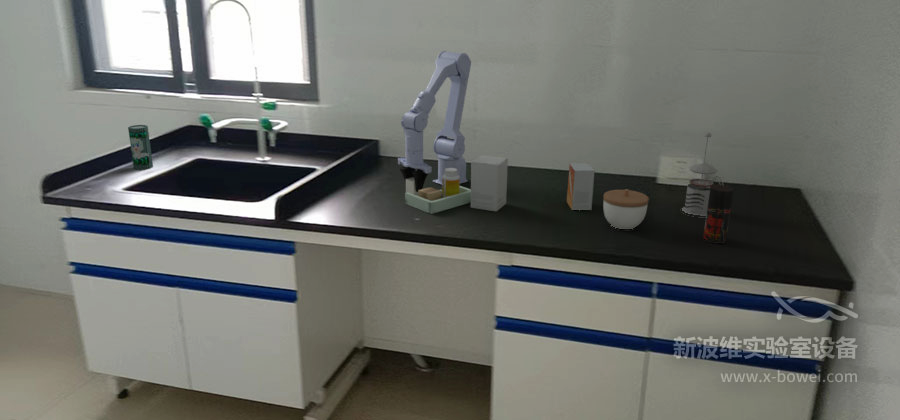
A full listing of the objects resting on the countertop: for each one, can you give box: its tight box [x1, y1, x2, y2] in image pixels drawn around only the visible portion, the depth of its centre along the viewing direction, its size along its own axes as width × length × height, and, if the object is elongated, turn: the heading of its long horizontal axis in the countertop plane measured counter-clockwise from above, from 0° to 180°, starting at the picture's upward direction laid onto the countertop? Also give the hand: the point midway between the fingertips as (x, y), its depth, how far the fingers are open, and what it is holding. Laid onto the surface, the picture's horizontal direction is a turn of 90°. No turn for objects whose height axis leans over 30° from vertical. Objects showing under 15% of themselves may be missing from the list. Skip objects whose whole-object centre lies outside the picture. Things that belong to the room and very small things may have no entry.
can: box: [127, 124, 154, 171], centre depth 249 cm, size 6×6×15 cm
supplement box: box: [470, 154, 509, 212], centre depth 214 cm, size 9×9×15 cm
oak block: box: [418, 186, 442, 201], centre depth 215 cm, size 5×5×5 cm
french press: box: [681, 132, 724, 216], centre depth 209 cm, size 10×12×25 cm
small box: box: [566, 162, 596, 212], centre depth 215 cm, size 8×6×13 cm
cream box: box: [405, 177, 418, 196], centre depth 226 cm, size 4×4×5 cm
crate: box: [404, 185, 471, 215], centre depth 218 cm, size 18×12×4 cm
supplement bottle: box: [441, 168, 461, 198], centre depth 219 cm, size 6×6×10 cm
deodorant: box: [702, 184, 735, 242], centre depth 190 cm, size 6×6×15 cm
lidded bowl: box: [602, 188, 650, 230], centre depth 200 cm, size 13×13×11 cm
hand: (414, 189), depth 226 cm, fingers closed on cream box, 4 cm apart
